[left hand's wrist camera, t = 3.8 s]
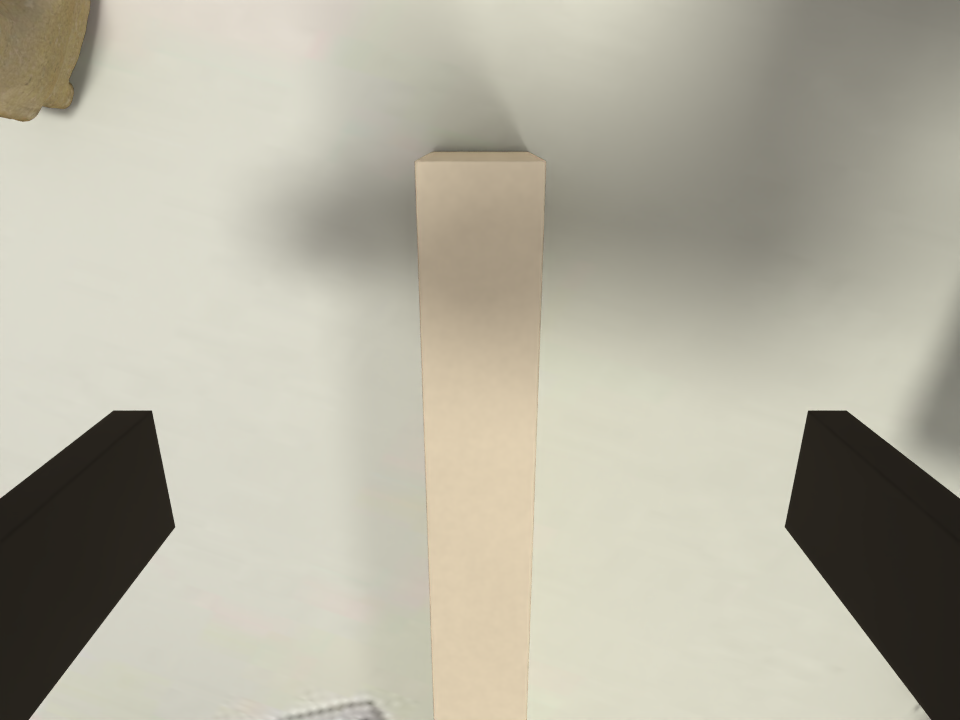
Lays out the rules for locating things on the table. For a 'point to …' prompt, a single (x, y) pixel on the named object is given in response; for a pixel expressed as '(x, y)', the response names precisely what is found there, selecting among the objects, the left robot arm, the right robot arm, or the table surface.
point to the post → (480, 420)
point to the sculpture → (39, 54)
